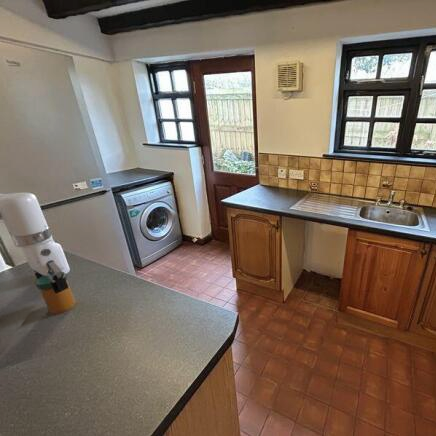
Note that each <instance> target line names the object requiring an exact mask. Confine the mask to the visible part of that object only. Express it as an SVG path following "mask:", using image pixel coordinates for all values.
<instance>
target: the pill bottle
mask: <svg viewBox="0 0 436 436" xmlns="http://www.w3.org/2000/svg"><path fill="white" fill-rule="evenodd" d="M50 240H51V242H52V243H53V245H54V246H55V248H56V250H57V252H58V254H59V256H60V258H61V260H62V262H63V264H64V269H61V271H62V272H64V273H65V274H66V275H67V274H69V272H70V271H71V269H70V265H69V263H68V260H67V258H66V254H65V252H64V250H63V248H62V245H61V243H58V242H55V240H54V238H53V237H52V239H50ZM51 271H52V270H50V272H51Z"/></svg>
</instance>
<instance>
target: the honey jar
mask: <svg viewBox="0 0 436 436" xmlns="http://www.w3.org/2000/svg"><path fill="white" fill-rule="evenodd" d="M66 282H67V284H68V288H67V289H65V290H63V291H61V292H59V293H55V292H54V290H53V288H51V289H46V290H41V289H38V290H39V293H40V295H41V296H42V299H43V301H44V303H45V305H46V307H47V309H48V311H49V313H50V314H52V315H59V314H61V313H65V312H67V311H70V309H73V307H74V306H75V305H76V303H77V301H76V298H75V296H74V294H73V291H72V289H71V286H70V284H69V282H68V279H67V280H66Z"/></svg>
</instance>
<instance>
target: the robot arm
mask: <svg viewBox="0 0 436 436" xmlns="http://www.w3.org/2000/svg"><path fill="white" fill-rule="evenodd" d="M1 220H2V221H3V223H4V225H5V227H6V229H7V232H8V234H9V236H10V238H11V240H12V242H13V244H14V246H15V247H16V248H20V249H21V250H22V253H23V255H24V257H25V259H26V262H27V264H28V265H29V267H30V268H31V269H32V270H33V272H34V275H35V277H36V280H37V279H39V278H40V277H42V276H48V277H49V279H50V280H51V282H50V283H51V286H52V288H53V290H54V292H55V293H59V292H61V291H63V290H65V289H67V288H68V284H69V283H68V284H67V282H66V280H65V277H64V275H63V273H62V271H61V269H64V264H63V262H62V260H61V258H60V256H59V254H58V252H57V250H56V248H55V246H54V245H53V243H52V242H51V240H50V239H52V238H53V235H52V232H51V230H50V228H49V226H48V223H47V220H46V218H45V216H44V213H43V211H42V208H41V205H40V203H39V201H38V198H37V196H36V195H35V194H33V193H31V192H13V193H0V221H1ZM50 270H52V271H51V272H50ZM52 274H55V275H54V277H52V276H51V275H52Z"/></svg>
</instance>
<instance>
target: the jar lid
mask: <svg viewBox="0 0 436 436" xmlns="http://www.w3.org/2000/svg"><path fill="white" fill-rule="evenodd" d="M62 273H63V275H64V277H65V280H67V281H68V279H67V278H68V277H67V274H65V273H64V272H62ZM54 275H55V274H52V275H51V276H52V277H54ZM50 282H51V280H50V279H49V277H48V276H42V277H40V278H39V279H37V278H36V280H35V286H36V288H37V289H38V290H39V289H41V290H46V289H51V288H52V286H51V283H50Z"/></svg>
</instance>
